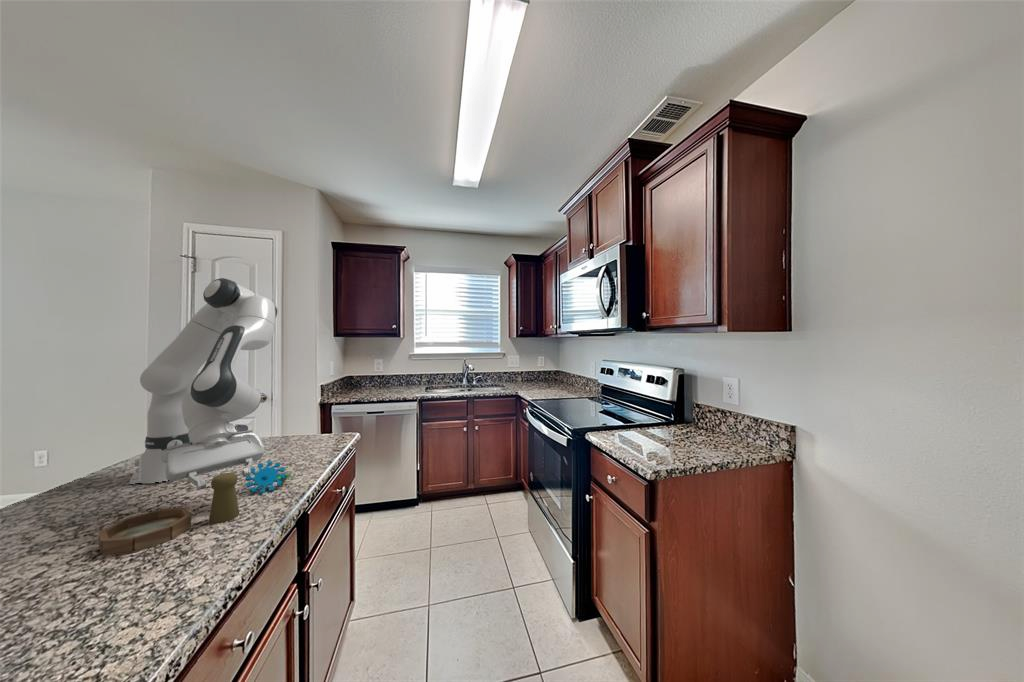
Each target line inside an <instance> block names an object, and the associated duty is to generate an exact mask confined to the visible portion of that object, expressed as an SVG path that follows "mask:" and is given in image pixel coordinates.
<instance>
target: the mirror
mask: <svg viewBox="0 0 1024 682" xmlns="http://www.w3.org/2000/svg"><path fill="white" fill-rule="evenodd" d="M191 527H192V512H190V510H189V509H188V508H187V507H174V508H173V507H172V508H161V509H155V510H152V511H148V512H146V513H145V512H144V513H142V514H137V515H134V516H130V517H127V518H125V519H121V520H120V521H117V522H116V523H114V524H113V525H110V526H109V527H107V528H105V529H103V530H100V531H99V532H98V547H99V552H100V556H111V555H113V554H114V555H123V554H132V553H137V552H140V551H143V550H146V549H149V548H152V547H155V546H158V545H160V544H161V545H162V544H164V543H167V542H170V541H172V540H174V539H176V538H177V537H179V536H180V535H181V534H183V533H184V532H185V531H187V530H189V529H190V528H191ZM114 555H113V556H114Z"/></svg>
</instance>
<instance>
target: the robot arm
mask: <svg viewBox="0 0 1024 682" xmlns="http://www.w3.org/2000/svg"><path fill="white" fill-rule="evenodd" d="M203 300H204V302H205V303H206V304H204V305H203V306H202V307H201V308H200V309H199V310H198V311H197V312H196V313H195V314H194V315H193V316H192V318H190V319H189V321H188V322H187V324H185V326H184V327H183V329H182V330H181V331H180V332H179V334H178V335H176V338H175V339H174V340H173V341H172V342H171V343H170V344H168V345H167V347H166V348H164V349H163V350H162V351H161V353H159V355H158V356H157V357H155V359H154V360H153V361H152V362H151V363H150V364H149V365H148V366H146V368H145V369H144V370H143V372H142V373H141V375H140V377H139V383H140V386H141V387H142V389H144V390H145V391H146V392H148V393H151V394H152V395H151V400H150V405H149V408H148V411H147V414H146V415H147V417H146V419H147V425H146V427H147V435H146V437H145V440H144V448H145V450H144V452H143V453H142V454H141V455H140V456H139V458H137V459H135V460H134V467H137V468H136V470H134V472H133V474H132V476H131V478H130V480H129V482H128V484H133V485H136V484H135V483H142V484H156V483H155V482H159V483H163V482H162V481H166V482H177V481H179V480H180V481H181V480H184V479H187V481H188V482H189V483H190V484H192V485H194V486H195V488H196V491H200V490H203V489H206V487H207V483H206V479H200V478H199V477H197V476H200V475H203V474H208V473H211V472H215V471H220V470H224V469H228V468H232V467H236V466H240V465H243V466H245V468H243V469H242V471H241V475H242V478H246V477H247V476H251V475H252V473H251V465H252V463H253V462H255V461H260V460H261V459H262V458H263V456H264V454H265V452H266V448H265V446H264V443H263V441H262V439H261V438H260V436H259V435H258V434H257V433H255V432H253V431H254V427H253V426H252V425H251V424H241V423H239V424H238V423H231V422H236V421H237V420H240V419H242V418H244V417H246V416H248V415H250V414H253V413H254V412H255V411H256V410H257V409H258V408H259V407H260V404H261V401H262V394H261V391H260V390H259V389H257V388H256V387H254V386H253V385H251V384H250V383H248V382H246V381H244V380H243V379H241V378H240V377H239V376H237V375H236V373H235V372H234V365H235V363H236V360H237V358H238V356H239V354H240V351H241V350H242V351H256V350H260V349H263V348H265V347H267V346H268V345H269V344H270V343H271V341H272V339H273V336H274V331H275V327H276V319H277V315H278V308H277V306H276V305H275V304H274V302H273V301H272V300H271V299H269V298H268V297H266V296H263V295H260V294H259V293H257V292H256V291H254V290H251V289H248V288H246V287H245V286H242V285H241V284H238V283H236V282H235V281H233V280H232V279H229V278H224V277H220V278H217V279H214V280H212V281H211V282H210V283H209V284H208V285H207V286H206V287H205V289H204V291H203ZM203 365H204V366H203ZM202 367H203V368H202ZM201 368H202V369H201ZM200 369H201V370H200ZM199 370H200V371H199ZM198 372H199V373H198ZM168 480H169V481H168Z"/></svg>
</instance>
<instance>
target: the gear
mask: <svg viewBox="0 0 1024 682" xmlns="http://www.w3.org/2000/svg"><path fill="white" fill-rule="evenodd" d="M272 465H273V461H270V460H269V461H267V462H266V466H265V467H264V463H262V462H259V463H258V464H257V468H258V471H256V468H255V467H252V468H250V470H251V474H253V475H254V476H253V477H252V476H251V475H250V476H247V477H244V478H245V481H248V482H246V484H245V486H246V489H248V488H250V487H251V488H250V491H251V493H256V492H257V491H258V490H259V489H260V490H259V491H258V493H259V494H262V493H264V494H265V493H266V488H268V486H269V489H268V491H269V492H274V491H275V486H274V483H276V486H278V487H279V486H282V485H283V484H282V483H284V484H285V481H287V479H288V478H290V475H291V474H290V472H286V473H284V472H285V467H284V466H282V467H281V464H280V463H279V462H276V463H275V464H274V465H273V466H272ZM270 466H271V467H270ZM263 467H264V468H263ZM278 472H281V473H278ZM250 481H253V482H250ZM253 486H254V487H253ZM262 495H263V494H262Z"/></svg>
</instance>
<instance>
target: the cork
mask: <svg viewBox="0 0 1024 682" xmlns="http://www.w3.org/2000/svg"><path fill="white" fill-rule="evenodd" d="M238 479H239V478H238V475H237V473H234V472H226V473H224V472H223V473H221V474H217V475H215V476H214V477H213V478H212V479H211V482H210V486H211V487H210V488H211V489H213V494H212V499H211V505H210V511H209V516H208V517H209V518H208V524H211V523H212V524H211V525H218V524H217V523H219V524H223V523H222V522H224V523H226V521H227V522H230V521H232V519H233V520H235V519H236V518H238V517H239V516H240V509H239V502H238V496H237V490H236V485H237V483H238ZM238 515H239V516H238ZM234 518H235V519H234Z"/></svg>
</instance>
